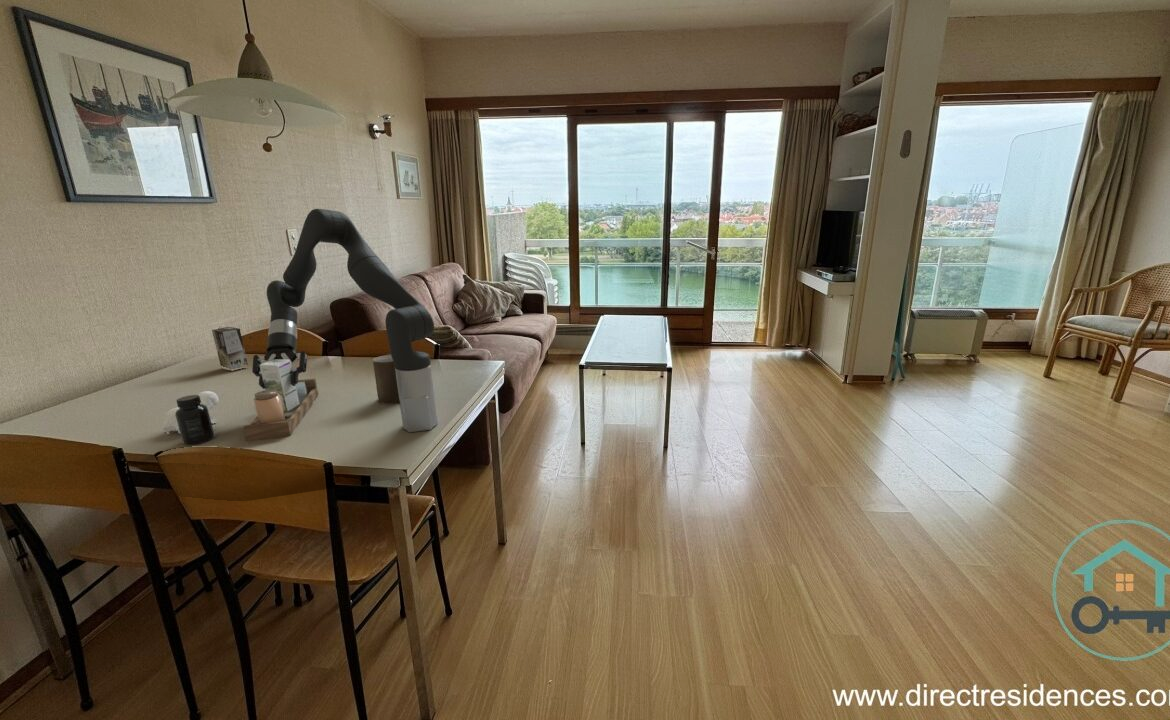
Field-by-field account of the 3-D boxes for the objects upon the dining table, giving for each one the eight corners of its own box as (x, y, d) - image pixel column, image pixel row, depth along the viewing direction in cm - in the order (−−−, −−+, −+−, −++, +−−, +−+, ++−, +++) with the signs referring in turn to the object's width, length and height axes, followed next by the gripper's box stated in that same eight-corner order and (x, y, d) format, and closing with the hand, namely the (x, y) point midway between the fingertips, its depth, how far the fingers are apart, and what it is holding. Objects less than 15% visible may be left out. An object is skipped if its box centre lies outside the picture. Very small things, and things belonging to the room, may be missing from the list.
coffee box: (249, 367, 196) (240, 328, 192) (231, 372, 191) (221, 331, 187) (238, 364, 201) (229, 326, 196) (220, 368, 196) (211, 329, 191)
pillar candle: (405, 403, 154) (399, 357, 150) (373, 404, 154) (367, 358, 150) (414, 393, 163) (408, 349, 159) (384, 394, 163) (378, 350, 159)
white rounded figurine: (194, 444, 136) (234, 407, 148) (176, 422, 131) (218, 385, 143) (169, 442, 138) (210, 405, 149) (150, 420, 133) (194, 384, 144)
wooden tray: (290, 435, 133) (286, 414, 131) (246, 440, 130) (241, 419, 129) (318, 395, 163) (315, 378, 161) (283, 399, 160) (279, 381, 159)
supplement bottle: (220, 433, 135) (210, 392, 132) (203, 445, 129) (191, 402, 125) (195, 434, 135) (184, 393, 132) (176, 446, 128) (164, 403, 125)
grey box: (307, 404, 155) (303, 383, 153) (279, 407, 153) (275, 385, 151) (312, 397, 161) (308, 376, 159) (285, 399, 159) (281, 379, 157)
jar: (283, 433, 134) (275, 395, 131) (258, 436, 133) (249, 398, 129) (289, 424, 140) (281, 387, 137) (265, 428, 138) (256, 390, 135)
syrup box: (300, 404, 149) (291, 358, 144) (287, 412, 143) (277, 364, 139) (282, 404, 149) (273, 358, 145) (269, 411, 144) (258, 364, 139)
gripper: (250, 333, 145) (244, 383, 137) (304, 329, 148) (301, 377, 141) (260, 346, 151) (255, 394, 144) (312, 342, 155) (309, 389, 147)
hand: (278, 386), depth 142 cm, fingers closed on syrup box, 7 cm apart
